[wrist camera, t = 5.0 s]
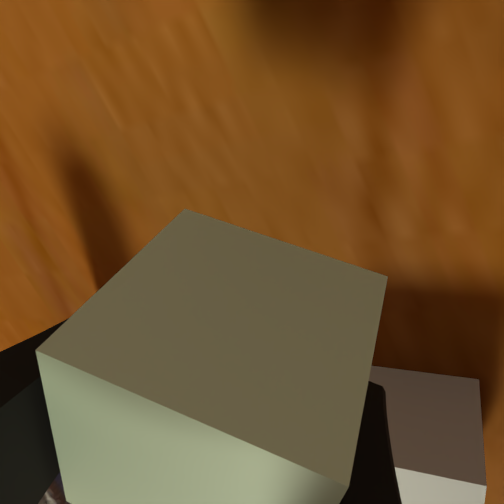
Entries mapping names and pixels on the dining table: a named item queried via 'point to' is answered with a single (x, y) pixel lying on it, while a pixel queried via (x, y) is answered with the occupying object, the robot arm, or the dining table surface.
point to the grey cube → (434, 436)
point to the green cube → (214, 373)
